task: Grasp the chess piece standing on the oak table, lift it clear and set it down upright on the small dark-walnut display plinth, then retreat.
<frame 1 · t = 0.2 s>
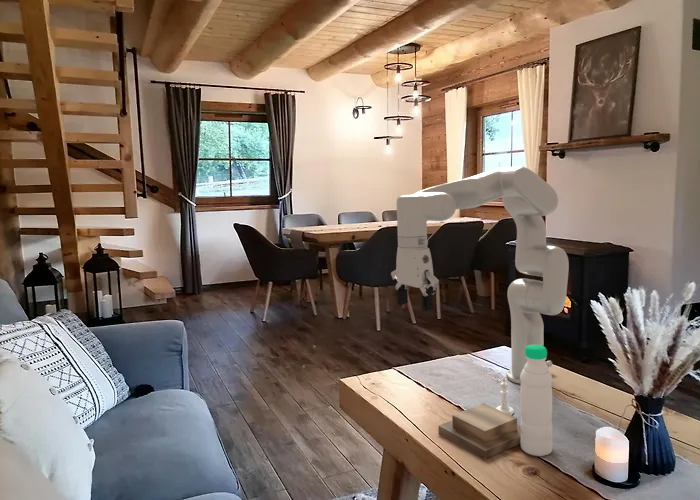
hand: (414, 307, 140), 31 cm above the table, fingers open, 9 cm apart
plinth: (484, 435, 132), on the table
water bottle: (536, 450, 124), on the table
chess piece: (504, 412, 145), on the table
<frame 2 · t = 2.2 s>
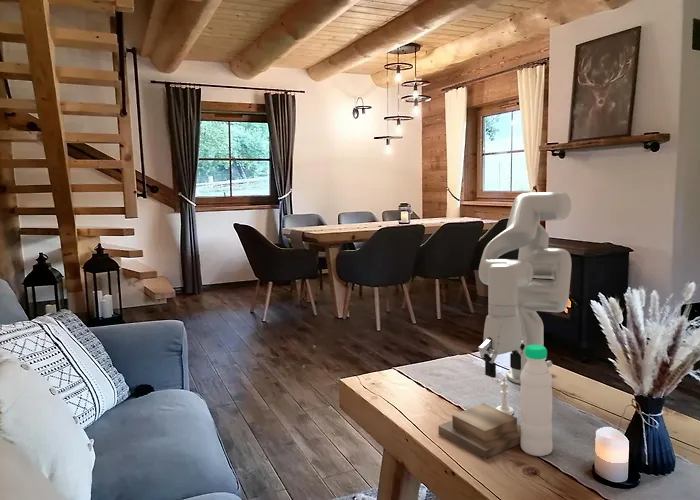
hand: (503, 372, 143), 11 cm above the table, fingers open, 9 cm apart
nothing on the table moved.
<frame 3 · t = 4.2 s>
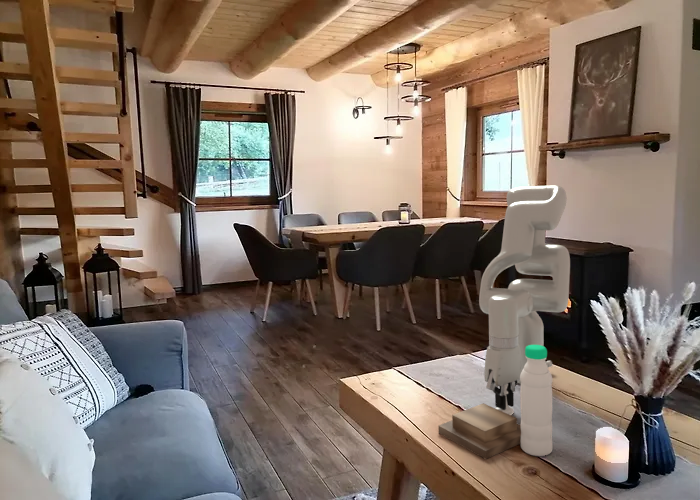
hand: (504, 406, 145), 2 cm above the table, fingers closed on chess piece
chess piece: (504, 412, 145), on the table, touching gripper
everything else where it was.
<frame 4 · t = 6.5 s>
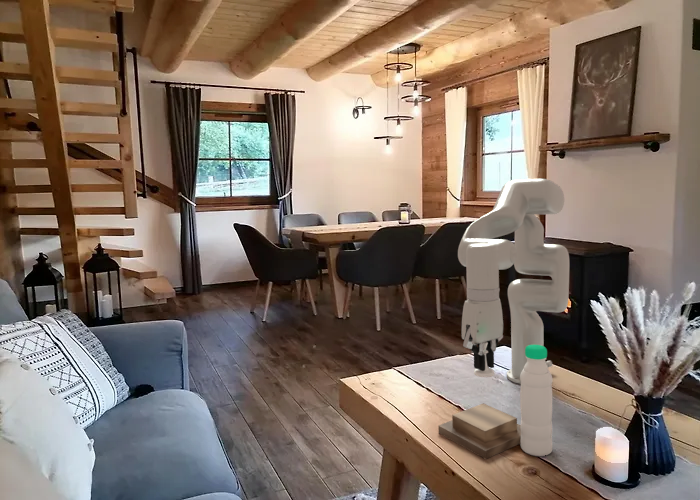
hand: (483, 367, 130), 18 cm above the table, fingers closed on chess piece
chess piece: (484, 374, 131), point 16 cm above the table, touching gripper
everything else where it was.
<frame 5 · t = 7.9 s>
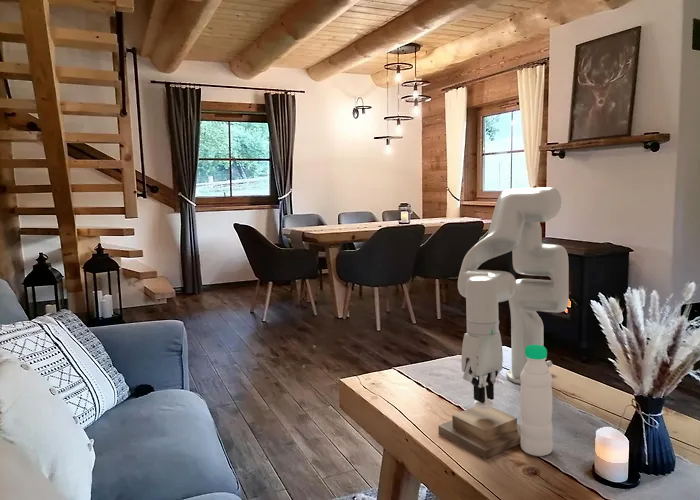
hand: (483, 398, 131), 10 cm above the table, fingers closed on chess piece
chess piece: (483, 406, 131), point 8 cm above the table, touching gripper
everything else where it was.
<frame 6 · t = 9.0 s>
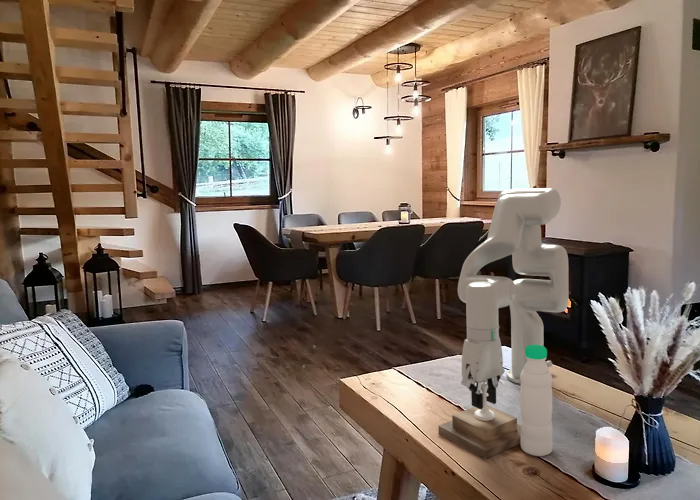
hand: (483, 403, 131), 8 cm above the table, fingers open, 3 cm apart
chess piece: (484, 416, 132), point 5 cm above the table, touching plinth
everything else where it was.
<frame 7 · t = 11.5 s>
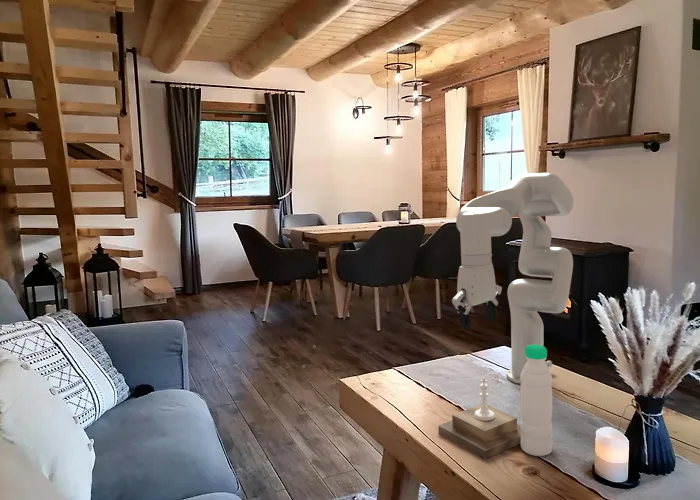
hand: (478, 324, 139), 26 cm above the table, fingers open, 9 cm apart
nothing on the table moved.
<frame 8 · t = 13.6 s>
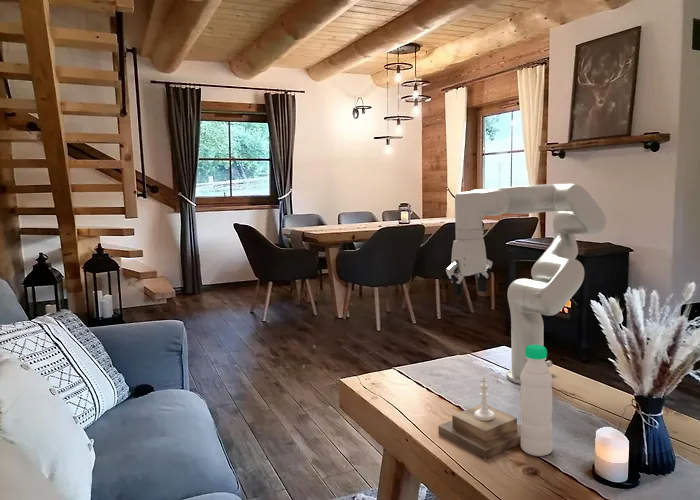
hand: (470, 293, 154), 30 cm above the table, fingers open, 9 cm apart
nothing on the table moved.
at the end: chess piece inside the target area on the plinth (0.2 cm from its centre), point 4.8 cm above the plinth's base; chess piece tilted 0°; the gripper is holding nothing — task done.
